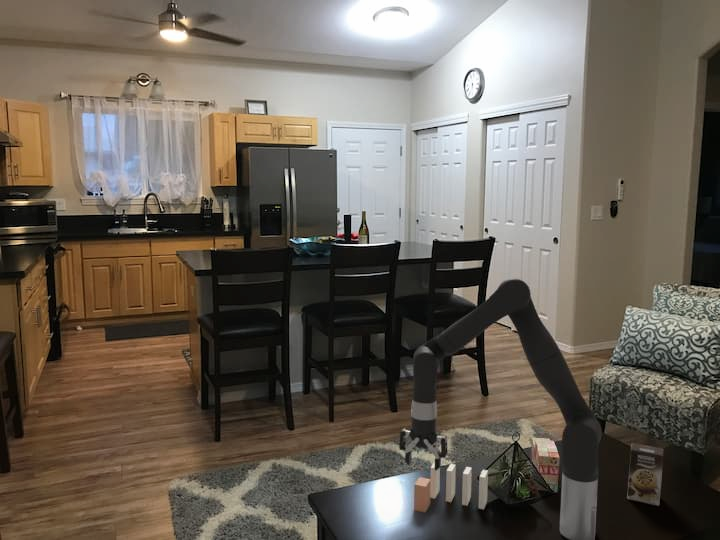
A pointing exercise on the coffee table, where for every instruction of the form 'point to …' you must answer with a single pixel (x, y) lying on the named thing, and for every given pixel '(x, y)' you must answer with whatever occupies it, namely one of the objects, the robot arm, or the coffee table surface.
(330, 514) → the coffee table surface
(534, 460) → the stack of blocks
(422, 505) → the domino
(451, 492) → the domino
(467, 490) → the domino
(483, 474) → the domino
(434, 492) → the domino
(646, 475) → the brown cookie box
